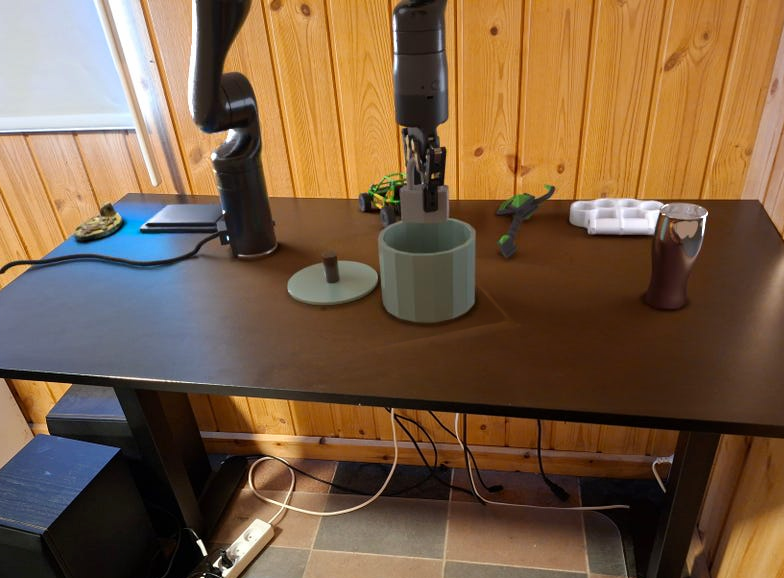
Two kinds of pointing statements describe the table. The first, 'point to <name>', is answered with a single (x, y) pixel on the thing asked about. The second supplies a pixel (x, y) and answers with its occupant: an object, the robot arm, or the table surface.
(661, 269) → the beer glass
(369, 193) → the motor vehicle
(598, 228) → the white flat holed piece
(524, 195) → the war hammer
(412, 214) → the padlock
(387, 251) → the pot
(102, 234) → the olive oval piece
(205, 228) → the dark grey flat block
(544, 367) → the table surface
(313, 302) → the pot lid
